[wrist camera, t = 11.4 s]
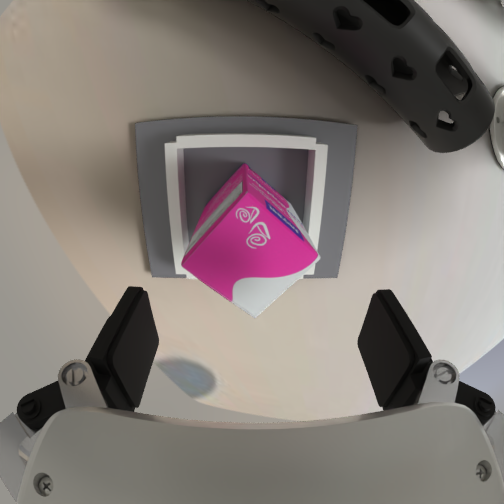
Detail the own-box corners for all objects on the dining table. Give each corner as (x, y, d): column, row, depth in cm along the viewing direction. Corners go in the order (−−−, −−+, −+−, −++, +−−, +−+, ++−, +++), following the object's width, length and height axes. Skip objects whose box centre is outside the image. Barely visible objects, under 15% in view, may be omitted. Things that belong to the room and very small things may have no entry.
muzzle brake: (402, 146, 24) (469, 167, 14) (172, -10, 16) (140, -61, 7) (443, 88, 20) (510, 91, 11) (231, -64, 12) (227, -119, 3)
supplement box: (292, 200, 25) (325, 261, 15) (249, 244, 27) (252, 324, 17) (245, 158, 23) (246, 190, 13) (202, 206, 25) (175, 270, 15)
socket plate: (353, 124, 23) (368, 126, 20) (334, 273, 30) (344, 290, 27) (139, 122, 22) (124, 124, 19) (154, 272, 29) (145, 290, 26)
